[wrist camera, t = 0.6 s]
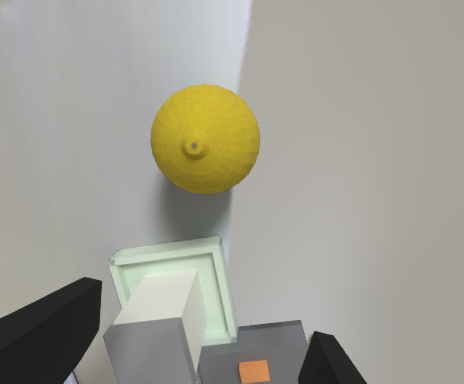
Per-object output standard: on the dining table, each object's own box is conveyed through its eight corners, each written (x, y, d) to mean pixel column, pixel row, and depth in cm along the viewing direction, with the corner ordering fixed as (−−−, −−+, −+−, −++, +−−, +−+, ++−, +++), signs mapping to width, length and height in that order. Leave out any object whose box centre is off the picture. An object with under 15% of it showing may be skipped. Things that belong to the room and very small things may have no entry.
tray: (143, 337, 22) (136, 353, 21) (117, 249, 20) (107, 259, 19) (238, 326, 21) (237, 342, 20) (220, 235, 20) (218, 244, 18)
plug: (157, 321, 21) (123, 397, 15) (144, 274, 20) (102, 336, 14) (208, 315, 20) (193, 391, 15) (198, 267, 19) (177, 327, 14)
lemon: (233, 191, 19) (225, 236, 11) (162, 155, 18) (102, 175, 11) (272, 119, 18) (292, 113, 10) (196, 79, 17) (156, 39, 9)
